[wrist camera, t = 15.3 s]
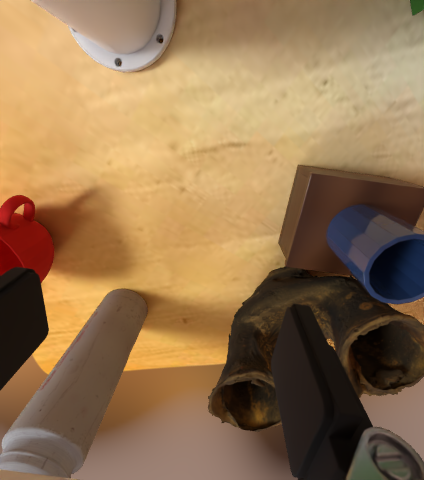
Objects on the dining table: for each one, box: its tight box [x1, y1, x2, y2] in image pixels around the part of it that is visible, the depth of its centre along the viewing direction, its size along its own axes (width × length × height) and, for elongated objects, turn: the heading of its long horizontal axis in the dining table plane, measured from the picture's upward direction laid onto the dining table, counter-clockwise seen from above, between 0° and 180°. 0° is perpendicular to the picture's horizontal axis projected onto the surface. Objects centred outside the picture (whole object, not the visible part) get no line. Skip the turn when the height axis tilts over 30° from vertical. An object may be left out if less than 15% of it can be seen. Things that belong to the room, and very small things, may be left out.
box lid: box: [285, 172, 424, 276], centre depth 30 cm, size 13×12×1 cm
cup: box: [326, 204, 424, 304], centre depth 25 cm, size 7×7×9 cm
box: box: [278, 165, 424, 258], centre depth 33 cm, size 13×12×7 cm
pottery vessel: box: [208, 266, 424, 432], centre depth 33 cm, size 25×11×20 cm, turn 119°
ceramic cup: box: [0, 195, 54, 283], centre depth 35 cm, size 13×17×10 cm
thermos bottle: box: [0, 289, 148, 478], centre depth 32 cm, size 8×8×28 cm
